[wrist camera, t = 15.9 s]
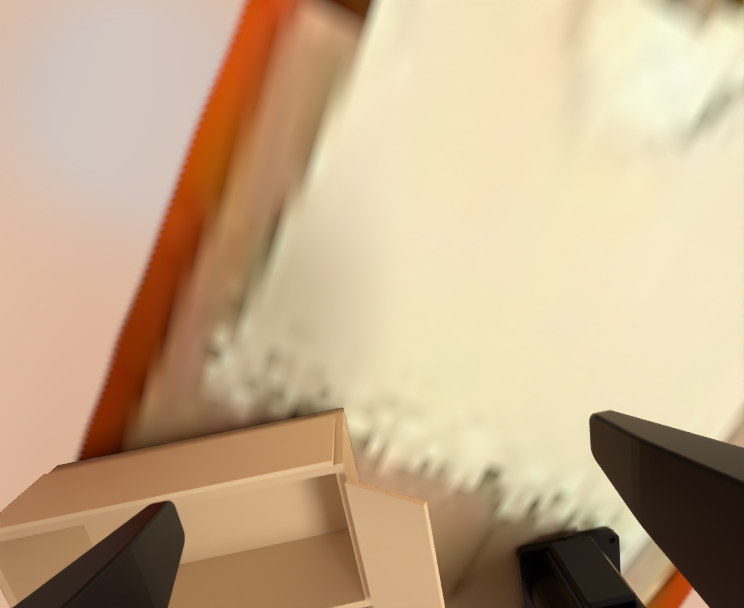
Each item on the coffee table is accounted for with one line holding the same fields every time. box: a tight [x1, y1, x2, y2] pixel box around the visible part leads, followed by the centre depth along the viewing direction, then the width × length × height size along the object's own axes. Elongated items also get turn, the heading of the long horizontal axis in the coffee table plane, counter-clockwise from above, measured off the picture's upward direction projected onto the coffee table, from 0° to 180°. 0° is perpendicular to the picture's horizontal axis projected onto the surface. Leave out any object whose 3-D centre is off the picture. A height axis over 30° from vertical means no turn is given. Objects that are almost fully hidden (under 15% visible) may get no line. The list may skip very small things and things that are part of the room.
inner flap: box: [345, 480, 445, 608], centre depth 17 cm, size 7×4×1 cm
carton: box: [0, 408, 372, 608], centre depth 20 cm, size 9×16×5 cm, turn 101°
